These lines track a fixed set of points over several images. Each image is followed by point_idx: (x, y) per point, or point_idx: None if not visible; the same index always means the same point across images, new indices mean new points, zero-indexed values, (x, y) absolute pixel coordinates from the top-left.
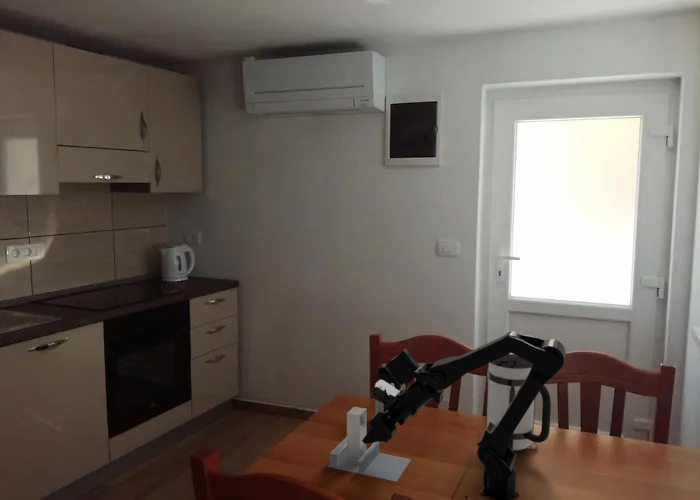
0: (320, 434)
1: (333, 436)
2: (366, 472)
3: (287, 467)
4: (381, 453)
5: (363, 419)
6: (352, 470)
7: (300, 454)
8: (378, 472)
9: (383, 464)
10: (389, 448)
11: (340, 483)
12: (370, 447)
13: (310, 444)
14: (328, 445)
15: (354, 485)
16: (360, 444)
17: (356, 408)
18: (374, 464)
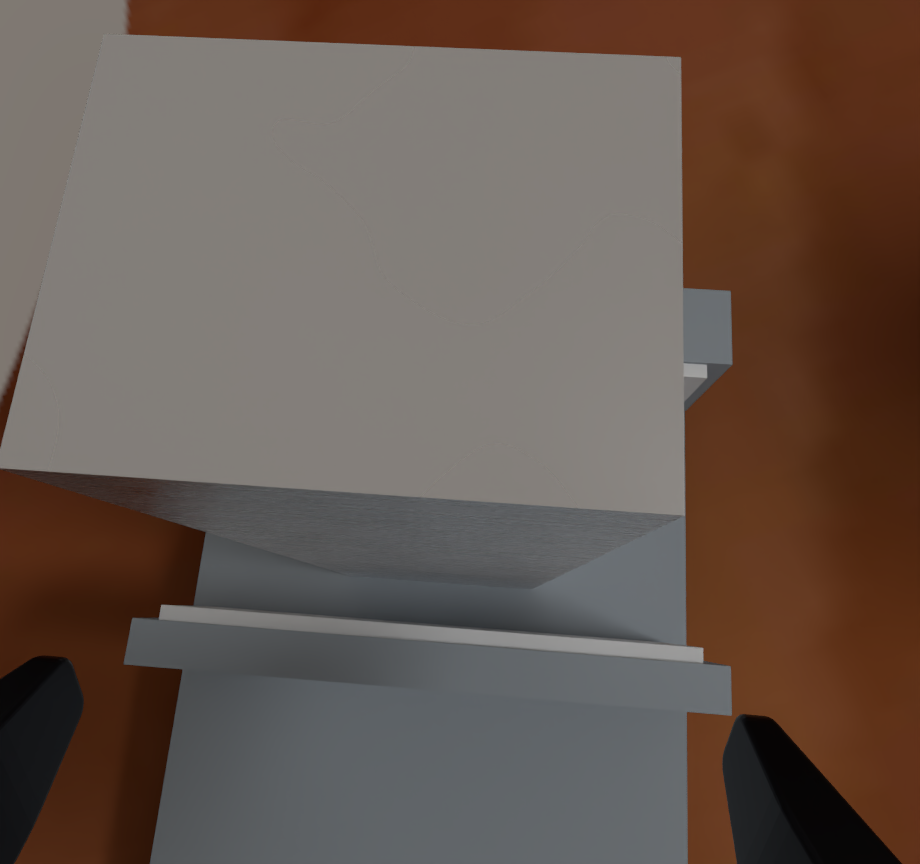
0: (850, 44)
1: (870, 150)
2: (225, 690)
3: (219, 38)
4: (679, 726)
5: (389, 528)
6: (227, 542)
7: (445, 40)
8: (256, 819)
9: (444, 823)
10: (900, 750)
11: (68, 496)
12: (541, 641)
13: (638, 42)
14: (684, 173)
15: (58, 627)
16: (319, 561)
17: (564, 170)
18: (413, 722)
